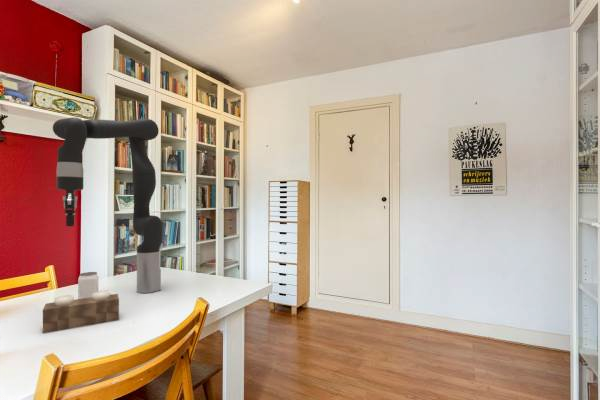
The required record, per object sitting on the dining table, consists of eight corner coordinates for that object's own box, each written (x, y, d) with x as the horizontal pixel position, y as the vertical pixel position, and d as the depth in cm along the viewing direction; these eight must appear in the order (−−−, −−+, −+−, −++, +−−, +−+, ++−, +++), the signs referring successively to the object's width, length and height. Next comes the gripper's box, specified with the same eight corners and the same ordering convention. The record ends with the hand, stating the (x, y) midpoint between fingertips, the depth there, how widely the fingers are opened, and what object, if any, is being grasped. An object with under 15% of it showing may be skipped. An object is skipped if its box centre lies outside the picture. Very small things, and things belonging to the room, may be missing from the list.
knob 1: (74, 317, 105) (74, 294, 105) (73, 321, 101) (73, 298, 101) (55, 320, 102) (55, 296, 102) (53, 325, 98) (53, 300, 98)
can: (76, 308, 117) (76, 276, 117) (79, 303, 123) (79, 272, 123) (97, 306, 120) (97, 274, 120) (99, 301, 126) (99, 271, 126)
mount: (117, 313, 113) (117, 293, 113) (118, 319, 107) (118, 299, 107) (45, 325, 102) (45, 303, 102) (42, 333, 96) (42, 310, 96)
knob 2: (109, 311, 111) (109, 289, 110) (110, 315, 106) (110, 293, 106) (92, 314, 108) (92, 292, 108) (92, 318, 104) (92, 295, 104)
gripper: (83, 175, 107) (83, 227, 107) (83, 177, 118) (83, 224, 118) (54, 174, 103) (54, 228, 103) (58, 176, 114) (58, 225, 114)
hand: (70, 226), depth 110 cm, fingers closed
